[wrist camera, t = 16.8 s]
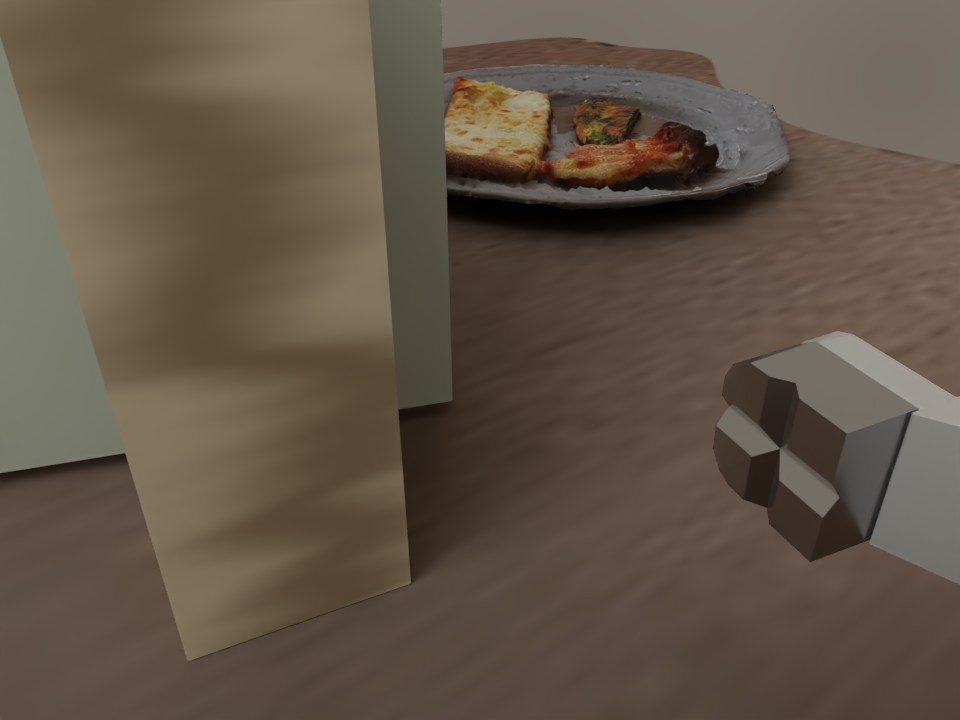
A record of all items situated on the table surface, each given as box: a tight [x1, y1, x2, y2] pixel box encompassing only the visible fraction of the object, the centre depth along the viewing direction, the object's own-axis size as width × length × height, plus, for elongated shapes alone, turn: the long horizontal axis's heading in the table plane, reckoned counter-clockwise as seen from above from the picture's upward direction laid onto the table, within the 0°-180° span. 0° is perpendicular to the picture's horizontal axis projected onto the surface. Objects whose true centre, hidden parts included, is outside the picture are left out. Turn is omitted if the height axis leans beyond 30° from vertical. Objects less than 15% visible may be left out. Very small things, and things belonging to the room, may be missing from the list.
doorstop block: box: [0, 0, 411, 661], centre depth 18 cm, size 6×6×16 cm
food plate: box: [443, 63, 790, 212], centre depth 48 cm, size 25×23×4 cm
